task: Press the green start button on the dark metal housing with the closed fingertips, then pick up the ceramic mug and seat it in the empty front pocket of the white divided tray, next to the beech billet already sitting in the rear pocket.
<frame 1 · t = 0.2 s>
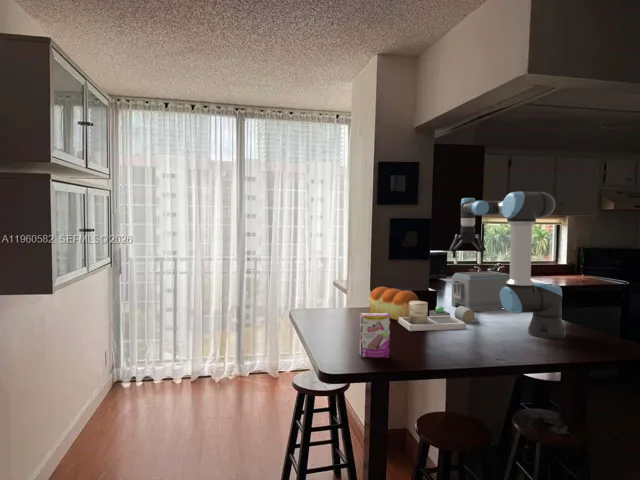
hand: (467, 263, 242), 28 cm above the breakfast bar, fingers open, 13 cm apart
button housing: (439, 318, 229), on the breakfast bar
start button: (439, 311, 229), point 4 cm above the breakfast bar, slide at 0.0 cm
white divided tray: (431, 325, 214), on the breakfast bar
ceramic mug: (466, 322, 223), on the breakfast bar
candy bar box: (374, 356, 166), on the breakfast bar
bread: (393, 316, 236), on the breakfast bar
beech billet: (418, 322, 213), point 2 cm above the breakfast bar, touching white divided tray
toaster: (478, 308, 258), on the breakfast bar
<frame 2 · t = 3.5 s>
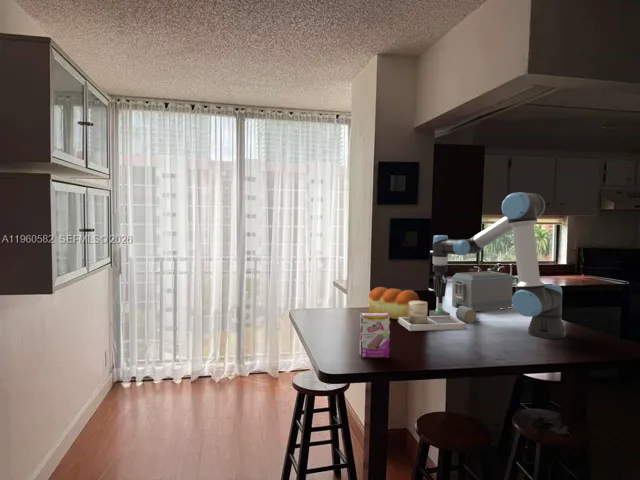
hand: (439, 308, 229), 5 cm above the breakfast bar, fingers closed
start button: (439, 313, 229), point 3 cm above the breakfast bar, slide at -1.1 cm, touching gripper
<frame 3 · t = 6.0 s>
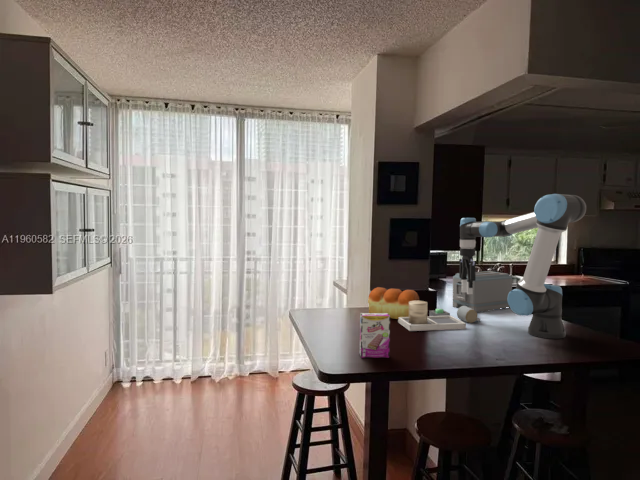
hand: (466, 293, 222), 15 cm above the breakfast bar, fingers open, 5 cm apart
start button: (439, 313, 229), point 3 cm above the breakfast bar, slide at -1.2 cm
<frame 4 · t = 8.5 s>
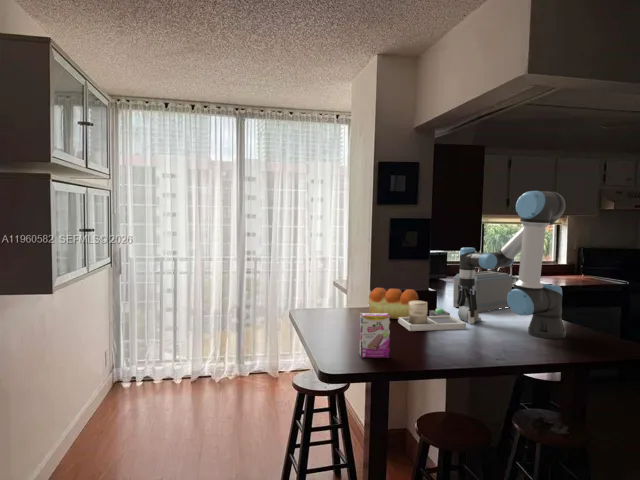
hand: (466, 321, 223), 0 cm above the breakfast bar, fingers open, 9 cm apart
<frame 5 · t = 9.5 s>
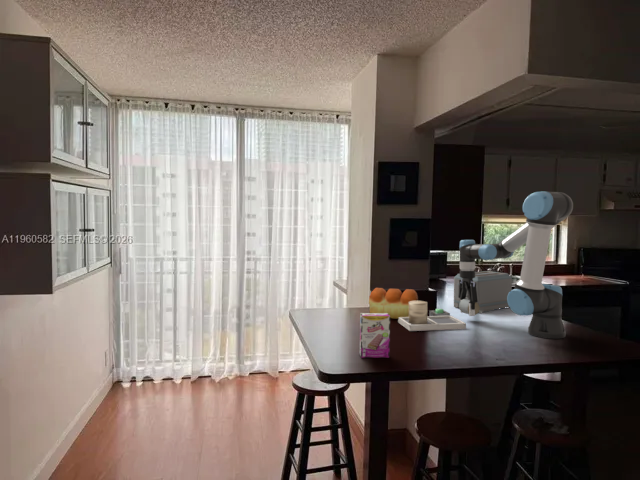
hand: (467, 314, 222), 4 cm above the breakfast bar, fingers closed on ceramic mug, 8 cm apart
ceramic mug: (471, 314, 223), point 4 cm above the breakfast bar, touching gripper
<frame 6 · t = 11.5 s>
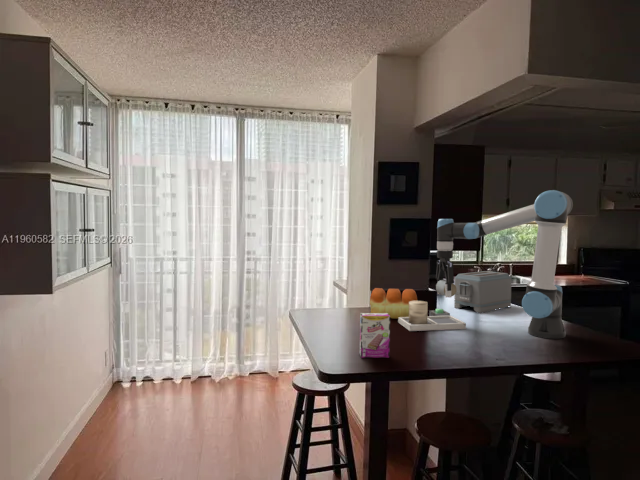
hand: (444, 295, 214), 15 cm above the breakfast bar, fingers closed on ceramic mug, 8 cm apart
ceramic mug: (448, 296, 215), point 14 cm above the breakfast bar, touching gripper
when the fingers open (4 cm above the breakfast bar, at t = 13.7 s): ceramic mug drops 2 cm, resting on white divided tray.
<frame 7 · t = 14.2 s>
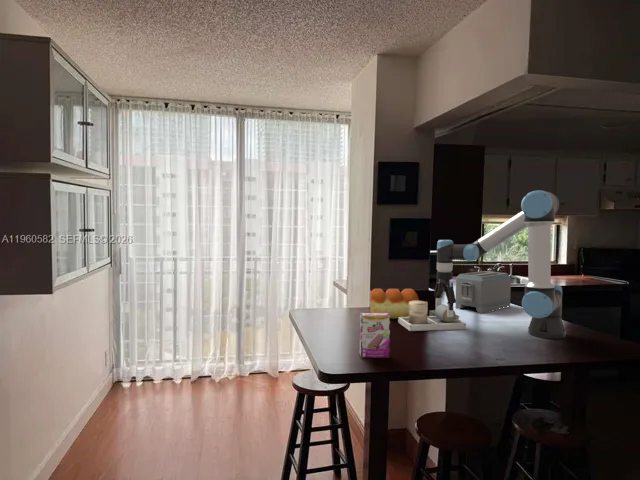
hand: (444, 313, 215), 6 cm above the breakfast bar, fingers open, 13 cm apart
ceramic mug: (448, 320, 216), point 2 cm above the breakfast bar, touching white divided tray
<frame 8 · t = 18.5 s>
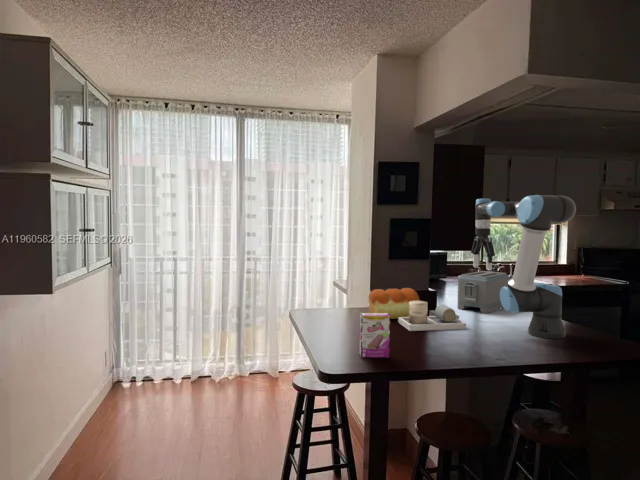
hand: (482, 267, 230), 27 cm above the breakfast bar, fingers open, 13 cm apart
at the end: ceramic mug inside the target area on the white divided tray (2.6 cm from its centre), point 2.0 cm above the white divided tray's base; ceramic mug tilted 8°; start button slide at -1.2 cm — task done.
